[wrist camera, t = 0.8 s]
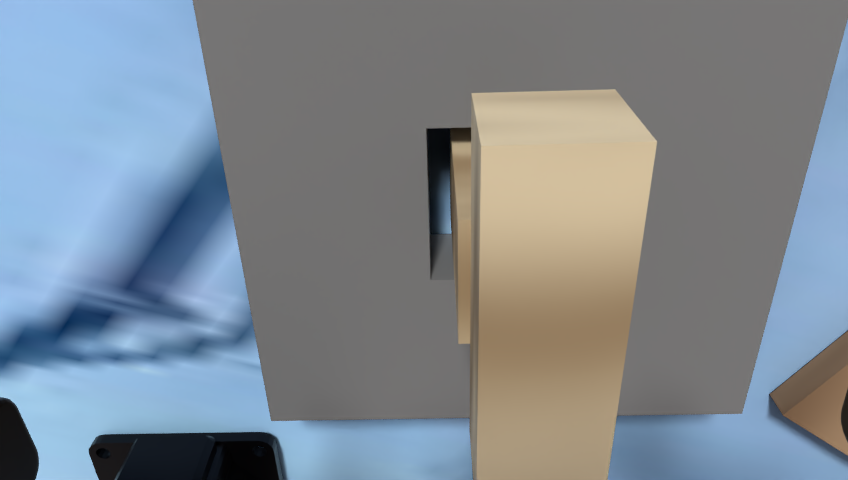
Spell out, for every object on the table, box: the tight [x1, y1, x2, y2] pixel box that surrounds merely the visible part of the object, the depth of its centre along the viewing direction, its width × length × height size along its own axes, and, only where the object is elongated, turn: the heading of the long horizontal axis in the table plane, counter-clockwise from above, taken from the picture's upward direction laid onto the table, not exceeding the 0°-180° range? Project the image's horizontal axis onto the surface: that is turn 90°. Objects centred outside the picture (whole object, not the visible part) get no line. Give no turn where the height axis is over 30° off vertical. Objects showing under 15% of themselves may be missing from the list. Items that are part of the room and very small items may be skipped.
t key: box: [450, 89, 657, 480], centre depth 15 cm, size 8×3×8 cm, turn 2°
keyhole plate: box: [193, 0, 848, 421], centre depth 18 cm, size 14×14×2 cm
